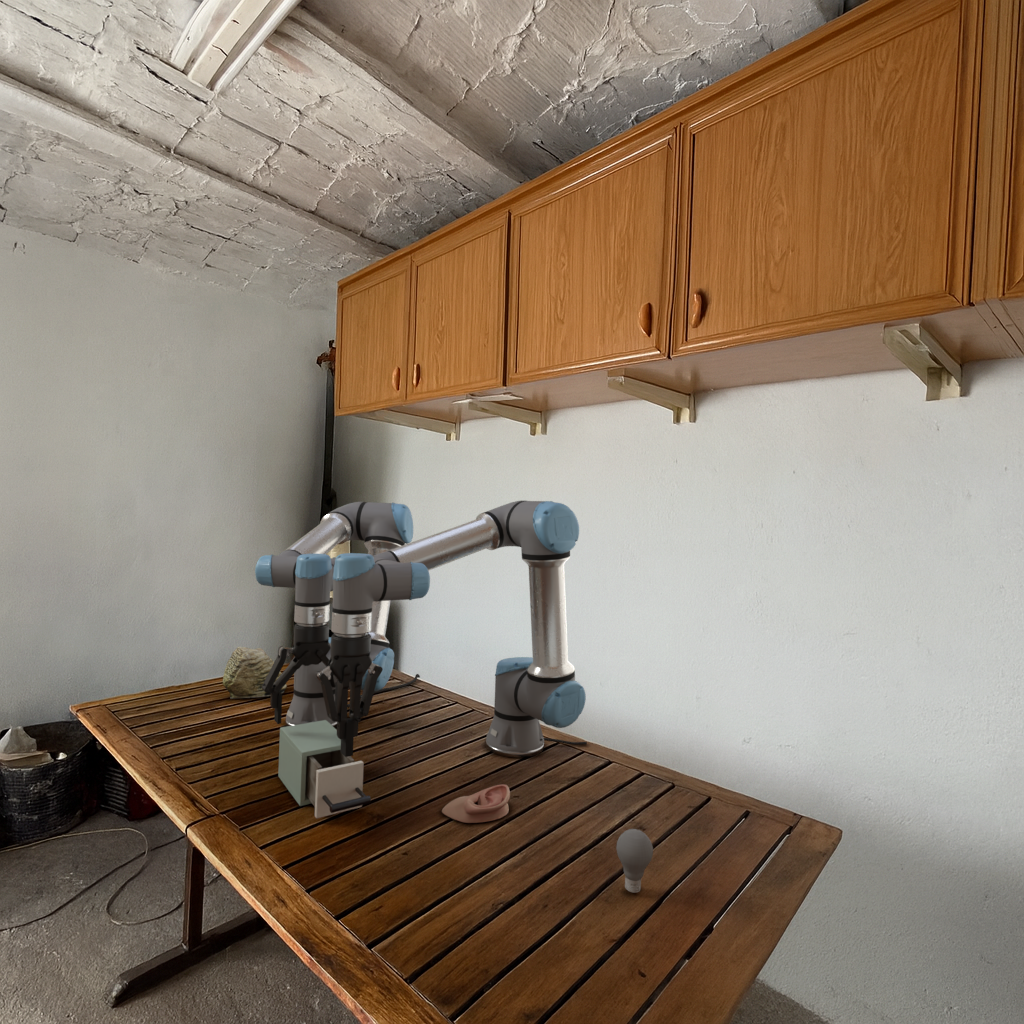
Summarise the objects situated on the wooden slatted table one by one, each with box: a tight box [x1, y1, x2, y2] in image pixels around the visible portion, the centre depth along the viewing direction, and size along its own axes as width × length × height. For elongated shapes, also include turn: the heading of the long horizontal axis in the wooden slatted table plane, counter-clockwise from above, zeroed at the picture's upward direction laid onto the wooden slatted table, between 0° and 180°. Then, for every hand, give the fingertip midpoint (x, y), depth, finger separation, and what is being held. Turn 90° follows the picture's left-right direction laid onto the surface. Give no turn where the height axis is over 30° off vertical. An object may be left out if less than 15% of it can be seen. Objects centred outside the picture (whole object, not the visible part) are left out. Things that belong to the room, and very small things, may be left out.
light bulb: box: [615, 828, 654, 894], centre depth 106 cm, size 6×6×10 cm
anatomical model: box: [441, 784, 511, 824], centre depth 131 cm, size 13×4×12 cm
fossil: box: [222, 646, 288, 699], centre depth 198 cm, size 9×18×15 cm, turn 132°
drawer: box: [305, 750, 372, 819], centre depth 129 cm, size 21×9×9 cm, turn 36°
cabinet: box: [277, 720, 341, 807], centre depth 139 cm, size 16×10×11 cm, turn 36°
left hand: (308, 716), depth 143 cm, fingers open, 13 cm apart
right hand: (346, 753), depth 123 cm, fingers closed
